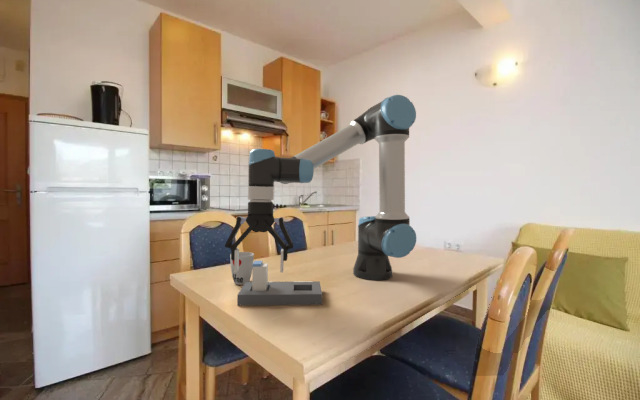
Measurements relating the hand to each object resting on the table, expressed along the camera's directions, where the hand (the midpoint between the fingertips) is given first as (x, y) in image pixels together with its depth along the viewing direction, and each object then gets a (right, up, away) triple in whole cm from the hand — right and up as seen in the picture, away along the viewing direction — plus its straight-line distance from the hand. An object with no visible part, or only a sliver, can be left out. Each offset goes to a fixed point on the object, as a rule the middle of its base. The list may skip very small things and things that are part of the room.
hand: (259, 271), depth 89 cm
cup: (-9, -8, +15) cm, 19 cm away
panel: (+7, -8, +1) cm, 11 cm away
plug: (0, -8, 0) cm, 8 cm away
